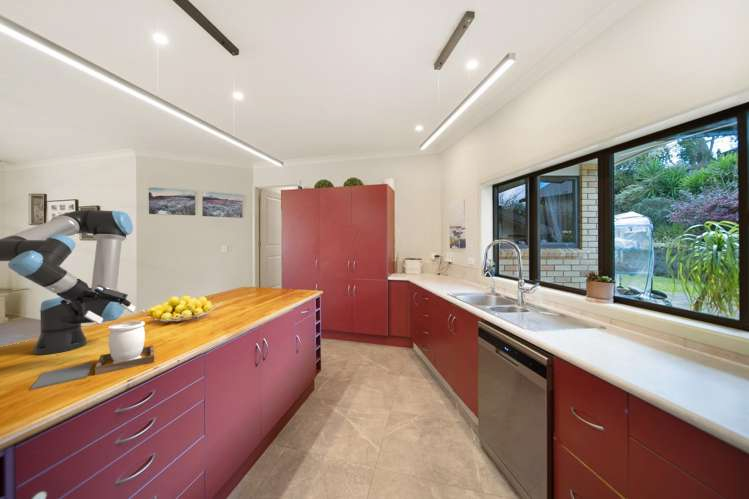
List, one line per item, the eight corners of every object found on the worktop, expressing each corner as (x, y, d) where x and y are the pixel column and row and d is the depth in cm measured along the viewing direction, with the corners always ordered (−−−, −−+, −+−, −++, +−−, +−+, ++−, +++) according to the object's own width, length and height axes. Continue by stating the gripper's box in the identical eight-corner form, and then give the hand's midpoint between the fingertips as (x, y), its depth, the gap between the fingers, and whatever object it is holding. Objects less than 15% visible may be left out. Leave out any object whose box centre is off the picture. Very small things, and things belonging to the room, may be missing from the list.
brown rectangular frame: (100, 361, 103) (100, 355, 103) (153, 351, 114) (153, 345, 114) (95, 375, 92) (95, 368, 92) (154, 362, 103) (154, 355, 103)
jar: (122, 369, 97) (122, 329, 97) (100, 366, 99) (100, 327, 99) (151, 357, 107) (151, 321, 107) (131, 355, 109) (132, 319, 109)
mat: (43, 373, 93) (43, 372, 93) (92, 364, 101) (92, 362, 101) (30, 389, 82) (30, 388, 82) (86, 377, 90) (86, 376, 90)
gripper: (24, 306, 91) (82, 334, 106) (97, 281, 94) (144, 312, 108) (37, 290, 97) (91, 319, 111) (106, 267, 99) (150, 298, 114)
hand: (117, 315), depth 110 cm, fingers open, 13 cm apart
